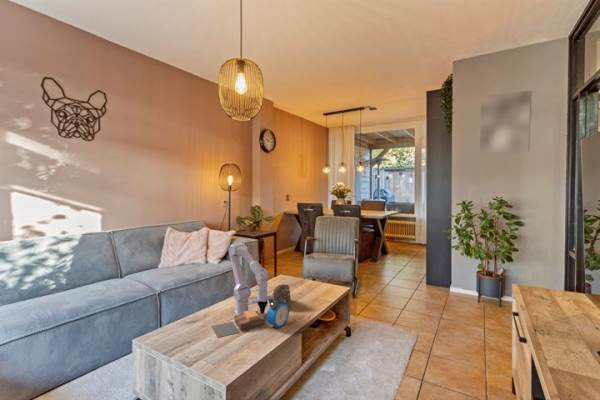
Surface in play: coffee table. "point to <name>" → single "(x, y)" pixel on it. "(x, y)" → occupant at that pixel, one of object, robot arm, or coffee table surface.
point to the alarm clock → (278, 313)
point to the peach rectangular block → (251, 315)
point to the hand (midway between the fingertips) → (262, 313)
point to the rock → (282, 294)
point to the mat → (225, 329)
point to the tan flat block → (248, 322)
